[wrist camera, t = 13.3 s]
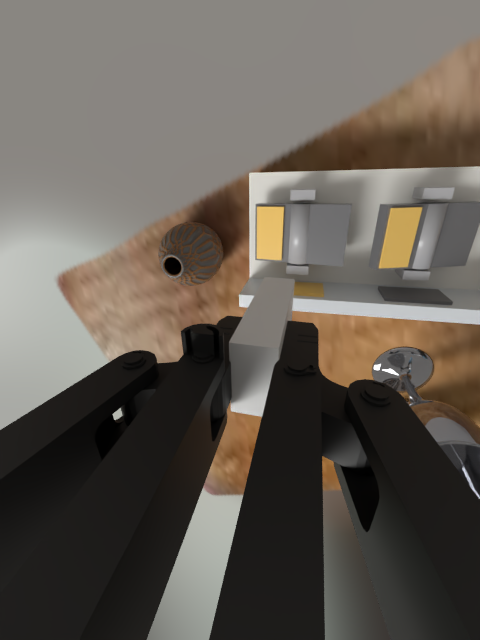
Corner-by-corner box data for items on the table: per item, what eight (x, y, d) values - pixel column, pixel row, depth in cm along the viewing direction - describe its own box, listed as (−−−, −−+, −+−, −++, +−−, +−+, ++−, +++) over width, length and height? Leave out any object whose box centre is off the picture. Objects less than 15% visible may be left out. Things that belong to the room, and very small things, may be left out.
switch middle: (469, 201, 23) (491, 202, 21) (450, 261, 25) (469, 266, 23) (377, 203, 22) (391, 205, 21) (366, 265, 25) (378, 271, 23)
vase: (213, 208, 33) (183, 217, 25) (238, 262, 35) (217, 286, 27) (167, 232, 35) (127, 247, 28) (192, 281, 37) (162, 307, 30)
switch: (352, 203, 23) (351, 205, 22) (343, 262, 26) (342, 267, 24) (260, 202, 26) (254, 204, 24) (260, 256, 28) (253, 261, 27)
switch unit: (608, 164, 24) (781, 155, 15) (547, 289, 29) (649, 337, 20) (258, 174, 30) (236, 171, 21) (257, 275, 35) (239, 306, 26)
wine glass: (396, 333, 34) (449, 427, 21) (453, 364, 34) (540, 477, 21) (355, 376, 38) (378, 478, 25) (406, 404, 38) (456, 520, 25)
